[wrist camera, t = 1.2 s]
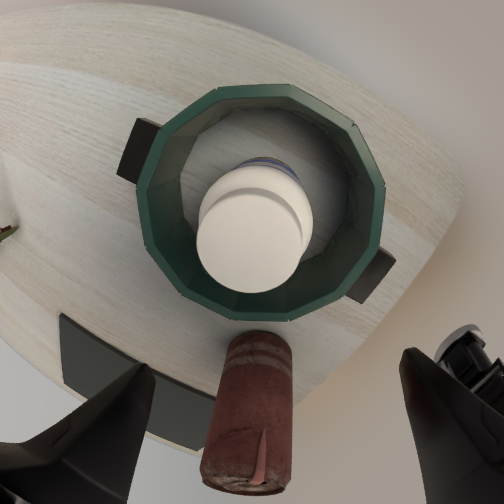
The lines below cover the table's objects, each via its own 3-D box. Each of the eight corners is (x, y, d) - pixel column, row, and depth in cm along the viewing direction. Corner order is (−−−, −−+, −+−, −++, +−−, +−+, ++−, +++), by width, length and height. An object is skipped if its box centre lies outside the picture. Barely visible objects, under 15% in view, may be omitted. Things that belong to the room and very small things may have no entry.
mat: (247, 409, 30) (247, 413, 29) (197, 448, 37) (197, 451, 37) (61, 312, 27) (59, 315, 26) (65, 381, 34) (63, 383, 34)
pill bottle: (260, 244, 20) (245, 330, 12) (209, 191, 19) (151, 243, 10) (317, 198, 18) (351, 258, 10) (266, 139, 17) (252, 143, 8)
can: (299, 331, 23) (304, 481, 11) (283, 375, 26) (277, 500, 13) (233, 320, 24) (196, 468, 11) (225, 365, 26) (197, 489, 14)
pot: (407, 178, 17) (445, 196, 12) (312, 312, 22) (318, 358, 18) (201, 60, 15) (172, 37, 10) (131, 218, 20) (93, 244, 16)
